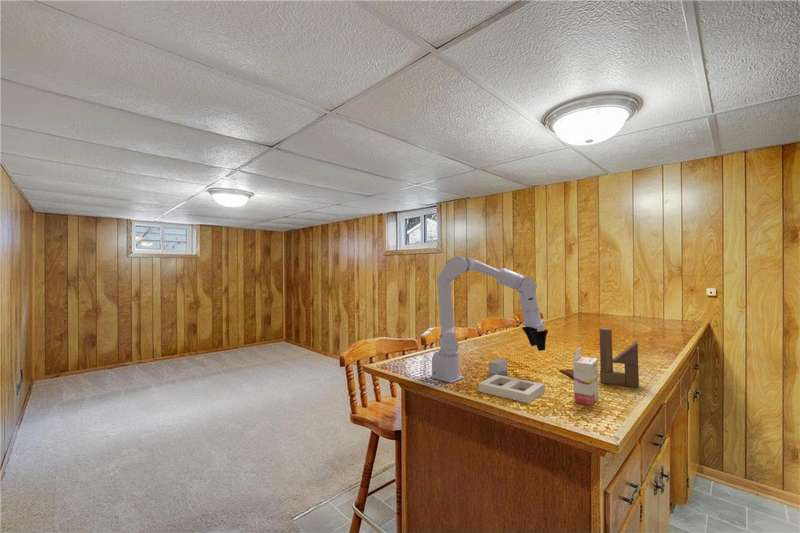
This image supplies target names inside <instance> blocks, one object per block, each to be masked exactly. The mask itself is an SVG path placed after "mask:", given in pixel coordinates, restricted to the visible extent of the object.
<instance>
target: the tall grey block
mask: <svg viewBox="0 0 800 533" xmlns="http://www.w3.org/2000/svg"><path fill="white" fill-rule="evenodd" d="M496 374H497V375H502V376H507V377H508V359H507V358H496V359H493V360H491V361H488V378H490V377H492V376H494V375H496Z"/></svg>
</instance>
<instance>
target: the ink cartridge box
mask: <svg viewBox="0 0 800 533" xmlns="http://www.w3.org/2000/svg"><path fill="white" fill-rule="evenodd" d="M598 360H599V359H598V358H596V357H587V356H582V346H580V347H579V348H577V349H575V350H574V351H573V365H572V367H573V369H572V370H574V379H573V395H574V396H573V398H574V399H573V400H574V403H576V404H581V405H587V406H590V407H591V406H593V405H594V404H595V403H596V401H597V400H598V399H599V384H598V383H599V382H598V381H599V380H598V379H599V378H598V377H599V374H598V372H599V371H598V370H599V367H598Z"/></svg>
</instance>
